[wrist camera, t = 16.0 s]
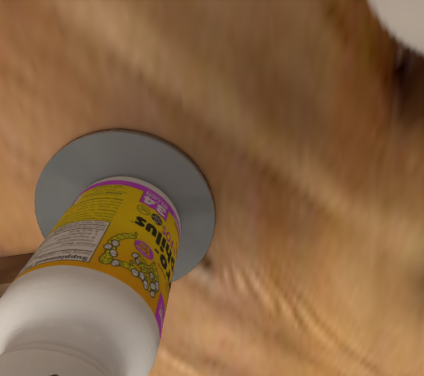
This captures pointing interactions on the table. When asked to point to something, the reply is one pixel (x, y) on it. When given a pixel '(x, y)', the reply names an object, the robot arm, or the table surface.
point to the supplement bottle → (94, 286)
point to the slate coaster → (136, 168)
